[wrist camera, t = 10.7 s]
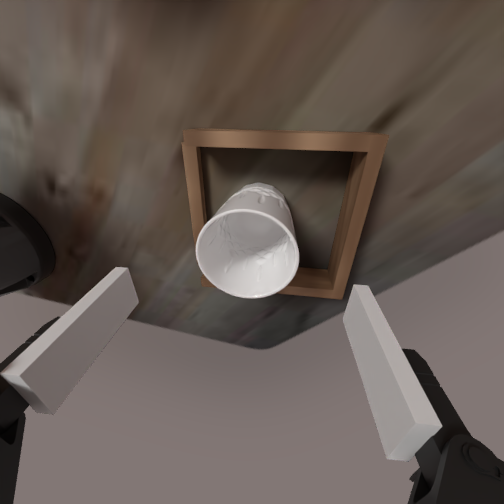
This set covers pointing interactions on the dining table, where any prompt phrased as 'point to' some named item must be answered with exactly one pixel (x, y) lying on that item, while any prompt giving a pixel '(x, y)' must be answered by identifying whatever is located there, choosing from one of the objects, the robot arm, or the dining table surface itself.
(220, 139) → the bay
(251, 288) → the white cup
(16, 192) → the dining table surface
